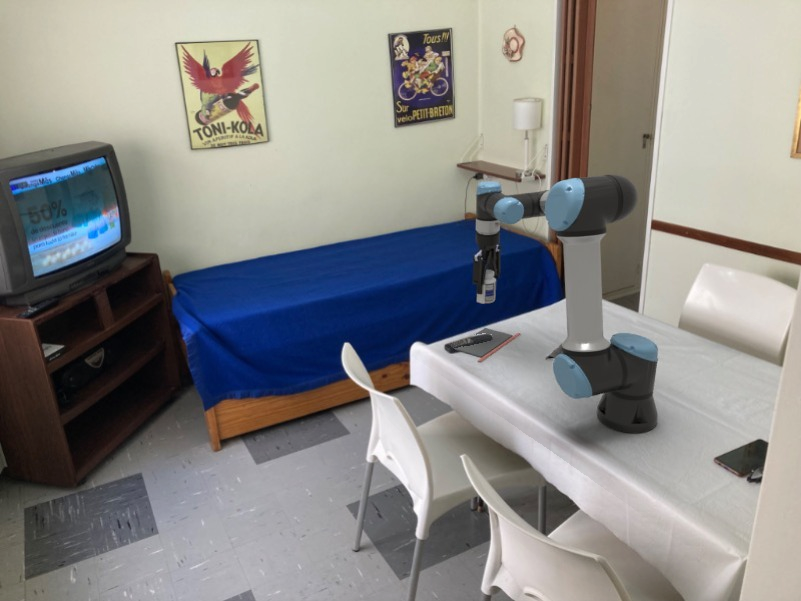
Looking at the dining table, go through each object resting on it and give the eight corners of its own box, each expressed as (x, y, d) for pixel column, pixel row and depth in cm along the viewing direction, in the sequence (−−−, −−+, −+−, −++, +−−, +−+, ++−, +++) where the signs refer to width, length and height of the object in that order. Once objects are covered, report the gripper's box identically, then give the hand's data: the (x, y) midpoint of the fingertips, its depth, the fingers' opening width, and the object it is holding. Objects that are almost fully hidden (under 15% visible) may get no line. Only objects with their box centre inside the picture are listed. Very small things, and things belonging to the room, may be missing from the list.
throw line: (480, 362, 205) (480, 361, 205) (477, 361, 205) (477, 360, 205) (520, 334, 223) (520, 333, 223) (518, 333, 224) (518, 332, 224)
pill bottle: (482, 295, 215) (482, 267, 212) (498, 298, 213) (498, 270, 209) (474, 301, 211) (475, 273, 207) (490, 304, 208) (491, 275, 204)
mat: (481, 357, 208) (481, 356, 208) (453, 349, 214) (453, 348, 214) (512, 336, 222) (512, 335, 222) (485, 329, 229) (485, 327, 228)
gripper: (481, 240, 194) (480, 311, 203) (513, 226, 207) (510, 293, 216) (461, 236, 198) (460, 305, 207) (493, 222, 212) (491, 288, 221)
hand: (486, 299), depth 212 cm, fingers closed on pill bottle, 6 cm apart
